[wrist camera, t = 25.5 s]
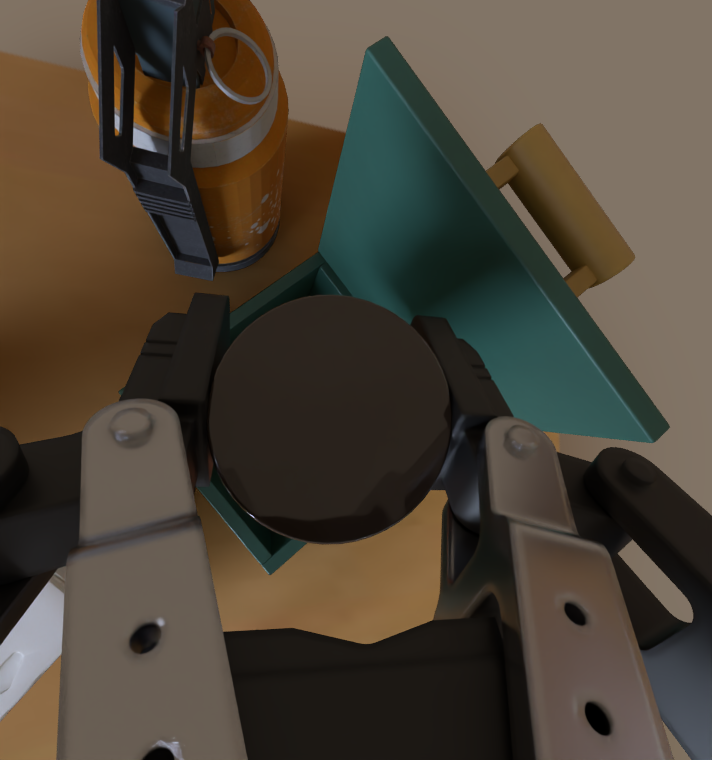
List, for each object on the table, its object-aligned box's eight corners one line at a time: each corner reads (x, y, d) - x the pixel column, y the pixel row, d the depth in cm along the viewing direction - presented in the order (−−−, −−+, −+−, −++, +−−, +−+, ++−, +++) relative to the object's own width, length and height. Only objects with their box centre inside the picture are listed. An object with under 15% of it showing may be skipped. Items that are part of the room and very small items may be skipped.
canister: (287, 177, 34) (320, -143, 15) (264, 312, 33) (266, 159, 13) (168, 147, 32) (24, -264, 13) (139, 288, 31) (-70, 71, 11)
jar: (283, 488, 19) (317, 601, 7) (220, 409, 19) (147, 395, 7) (359, 424, 20) (498, 433, 8) (300, 349, 20) (355, 246, 8)
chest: (268, 542, 31) (269, 576, 25) (149, 396, 30) (117, 391, 24) (414, 417, 35) (450, 417, 28) (309, 282, 34) (321, 249, 27)
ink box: (108, 491, 29) (8, 539, 18) (164, 536, 30) (102, 611, 18) (7, 596, 28) (-174, 722, 16) (69, 642, 28) (-64, 797, 17)
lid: (654, 444, 12) (761, 340, 13) (365, 47, 11) (499, -37, 12) (448, 421, 27) (504, 373, 28) (317, 250, 27) (378, 206, 27)
